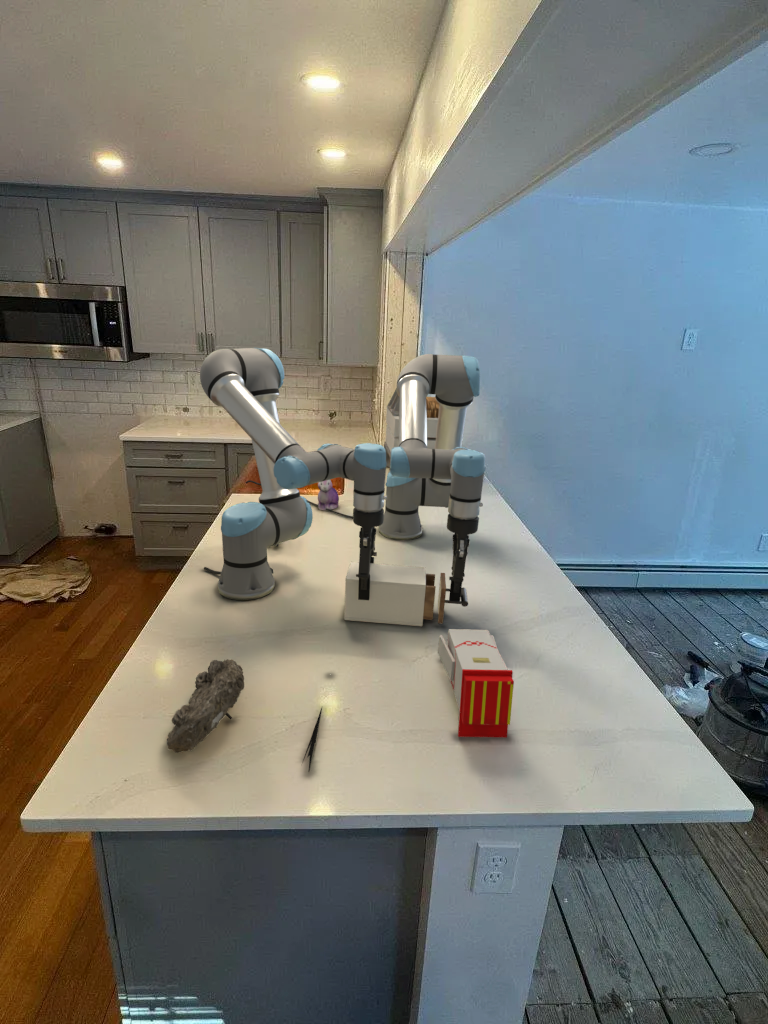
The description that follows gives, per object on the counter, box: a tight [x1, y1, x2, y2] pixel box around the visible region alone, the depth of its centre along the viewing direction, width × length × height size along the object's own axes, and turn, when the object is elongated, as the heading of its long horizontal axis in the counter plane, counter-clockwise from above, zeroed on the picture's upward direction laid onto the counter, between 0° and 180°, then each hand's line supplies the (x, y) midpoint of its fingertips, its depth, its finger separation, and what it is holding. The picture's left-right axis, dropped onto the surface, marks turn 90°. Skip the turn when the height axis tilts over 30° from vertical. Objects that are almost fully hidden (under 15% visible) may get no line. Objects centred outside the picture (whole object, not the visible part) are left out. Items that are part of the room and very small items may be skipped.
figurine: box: [317, 479, 340, 511], centre depth 220 cm, size 9×10×15 cm
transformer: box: [383, 387, 464, 468], centre depth 268 cm, size 34×33×41 cm
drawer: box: [423, 572, 469, 624], centre depth 145 cm, size 24×9×10 cm, turn 86°
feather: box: [301, 673, 332, 771], centre depth 108 cm, size 2×28×2 cm
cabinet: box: [343, 561, 427, 627], centre depth 146 cm, size 20×10×12 cm, turn 86°
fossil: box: [166, 658, 245, 754], centre depth 106 cm, size 22×10×15 cm
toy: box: [437, 628, 515, 738], centre depth 117 cm, size 12×13×30 cm
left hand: (366, 589), depth 146 cm, fingers closed on cabinet, 10 cm apart
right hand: (454, 601), depth 145 cm, fingers closed
